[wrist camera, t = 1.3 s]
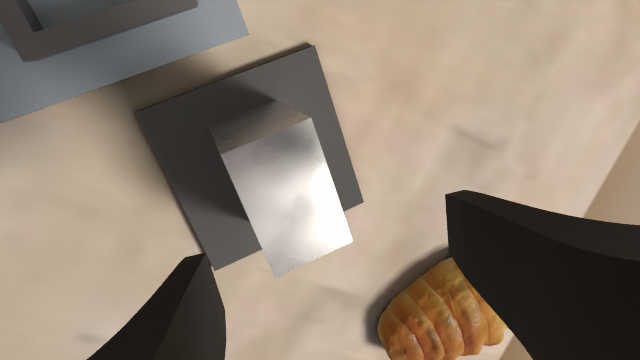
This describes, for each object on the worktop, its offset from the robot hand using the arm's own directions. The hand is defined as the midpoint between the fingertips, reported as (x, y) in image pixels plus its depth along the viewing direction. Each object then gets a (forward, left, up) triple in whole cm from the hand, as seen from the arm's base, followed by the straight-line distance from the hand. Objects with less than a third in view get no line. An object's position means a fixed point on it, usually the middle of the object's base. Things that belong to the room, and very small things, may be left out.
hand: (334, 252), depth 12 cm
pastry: (+8, -14, -11) cm, 20 cm away
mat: (0, 0, -11) cm, 11 cm away
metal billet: (0, 0, -10) cm, 10 cm away
